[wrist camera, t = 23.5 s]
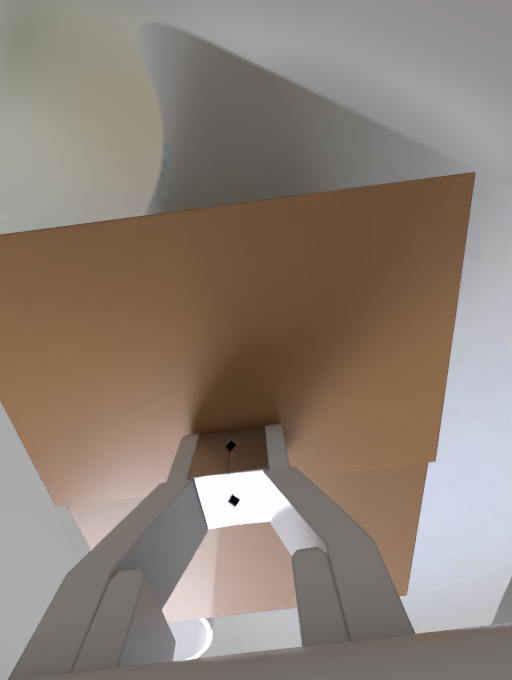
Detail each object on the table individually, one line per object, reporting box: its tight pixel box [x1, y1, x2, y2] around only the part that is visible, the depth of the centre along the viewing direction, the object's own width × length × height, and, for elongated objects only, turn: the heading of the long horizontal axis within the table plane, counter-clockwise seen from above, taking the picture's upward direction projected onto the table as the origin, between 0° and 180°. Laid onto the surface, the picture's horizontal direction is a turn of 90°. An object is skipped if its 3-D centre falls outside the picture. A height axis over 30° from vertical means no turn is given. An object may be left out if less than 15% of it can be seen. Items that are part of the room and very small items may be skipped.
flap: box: [0, 172, 475, 506], centre depth 7 cm, size 8×13×1 cm, turn 97°
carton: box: [65, 462, 428, 622], centre depth 15 cm, size 17×13×14 cm
